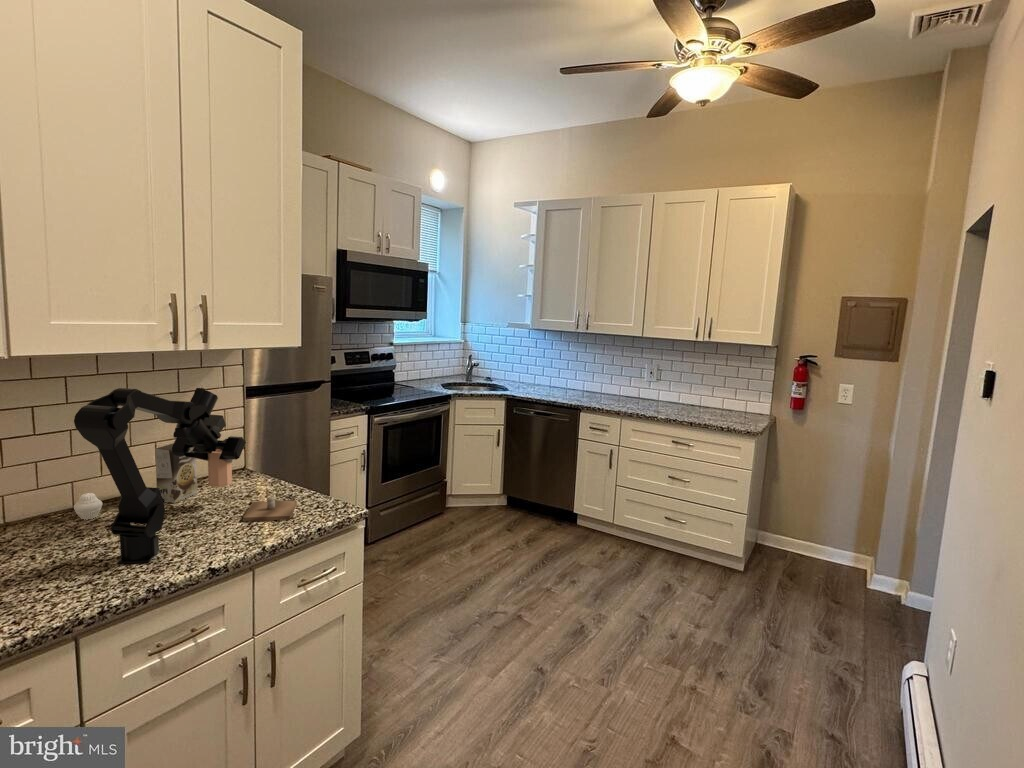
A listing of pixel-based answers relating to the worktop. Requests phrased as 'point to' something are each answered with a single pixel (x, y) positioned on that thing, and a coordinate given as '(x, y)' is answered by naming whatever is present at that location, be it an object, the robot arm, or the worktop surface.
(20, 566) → the worktop surface
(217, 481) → the terracotta collar
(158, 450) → the coffee box
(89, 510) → the muffin
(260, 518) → the post stand
